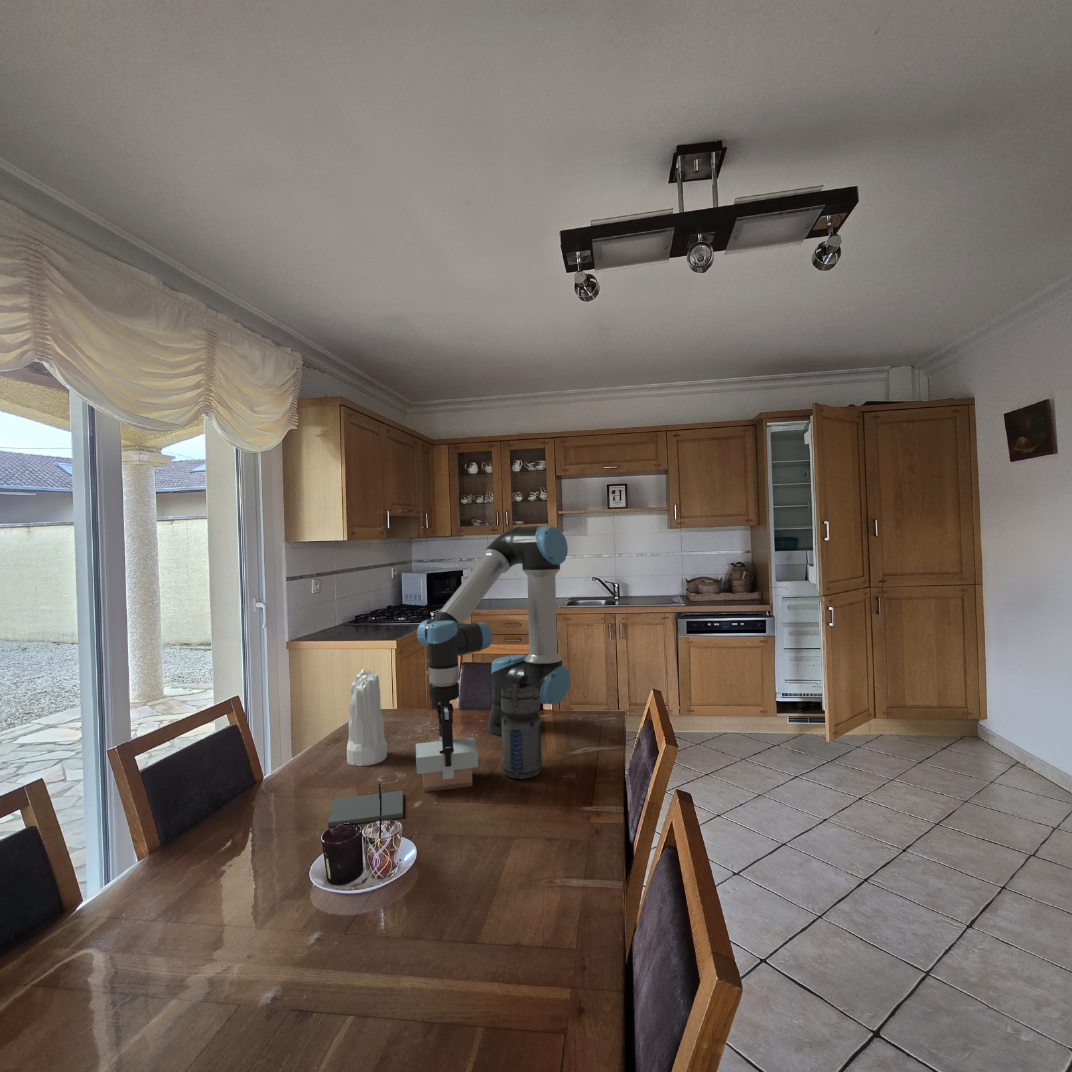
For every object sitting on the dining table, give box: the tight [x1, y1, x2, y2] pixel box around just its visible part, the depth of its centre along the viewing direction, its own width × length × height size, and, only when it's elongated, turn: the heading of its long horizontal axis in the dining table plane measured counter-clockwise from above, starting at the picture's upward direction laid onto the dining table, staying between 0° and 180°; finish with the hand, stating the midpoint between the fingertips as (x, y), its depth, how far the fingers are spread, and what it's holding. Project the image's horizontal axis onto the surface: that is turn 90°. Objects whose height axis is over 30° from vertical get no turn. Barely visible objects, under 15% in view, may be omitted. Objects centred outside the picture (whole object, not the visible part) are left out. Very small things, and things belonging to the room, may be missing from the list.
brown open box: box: [422, 768, 473, 793], centre depth 152 cm, size 12×8×5 cm, turn 102°
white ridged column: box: [346, 668, 388, 767], centre depth 170 cm, size 11×11×25 cm
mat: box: [327, 790, 404, 828], centre depth 138 cm, size 16×12×1 cm
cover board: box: [415, 737, 479, 775], centre depth 152 cm, size 15×10×4 cm, turn 102°
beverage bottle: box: [501, 675, 543, 780], centre depth 157 cm, size 10×13×25 cm
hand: (446, 769), depth 152 cm, fingers closed on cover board, 10 cm apart
